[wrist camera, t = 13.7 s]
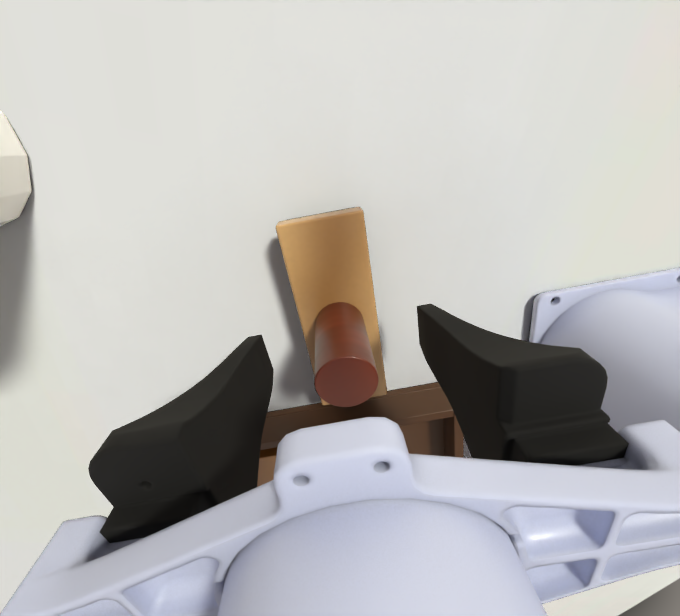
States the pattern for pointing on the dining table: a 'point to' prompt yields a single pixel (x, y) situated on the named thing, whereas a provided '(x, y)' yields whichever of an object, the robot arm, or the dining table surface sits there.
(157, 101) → the dining table surface
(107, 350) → the dining table surface
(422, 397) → the tray
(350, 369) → the wooden stamp
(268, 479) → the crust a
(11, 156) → the white cup
